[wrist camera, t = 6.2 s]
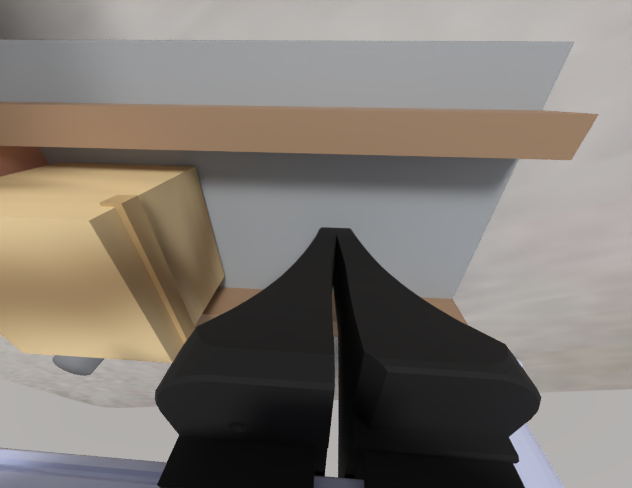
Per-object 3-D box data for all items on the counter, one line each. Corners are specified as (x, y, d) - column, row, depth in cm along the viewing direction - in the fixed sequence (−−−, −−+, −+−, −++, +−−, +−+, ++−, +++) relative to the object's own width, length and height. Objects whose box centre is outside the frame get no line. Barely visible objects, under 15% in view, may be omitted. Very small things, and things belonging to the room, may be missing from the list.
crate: (228, 277, 13) (178, 364, 9) (119, 271, 13) (19, 354, 9) (199, 163, 10) (94, 217, 5) (53, 159, 10) (-156, 207, 6)
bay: (430, 319, 15) (467, 403, 11) (130, 302, 16) (60, 374, 12) (548, 47, 8) (802, -10, 4) (-30, 44, 9) (-367, -4, 4)
